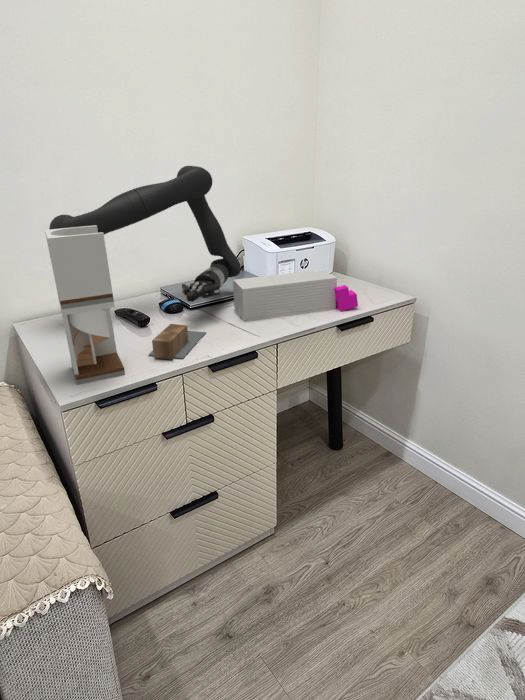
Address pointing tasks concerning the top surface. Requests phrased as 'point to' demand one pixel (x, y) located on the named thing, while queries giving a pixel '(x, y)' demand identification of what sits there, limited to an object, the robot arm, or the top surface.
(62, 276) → the white open-top tower
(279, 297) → the long grey block
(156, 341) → the walnut block
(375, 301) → the top surface
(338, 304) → the toy block
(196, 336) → the rubber mat
